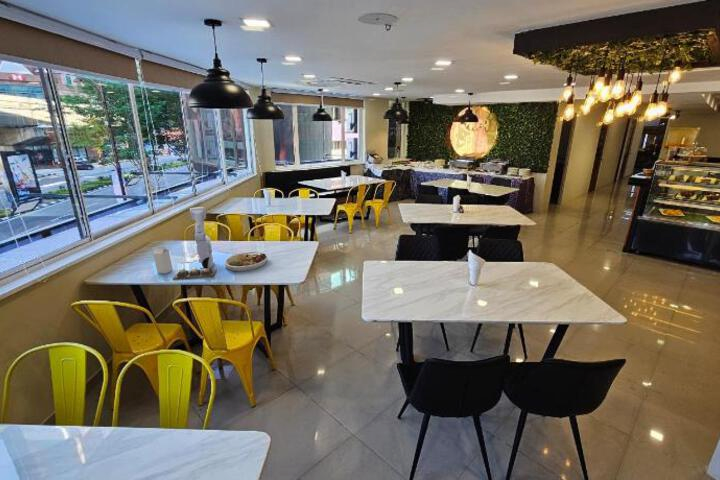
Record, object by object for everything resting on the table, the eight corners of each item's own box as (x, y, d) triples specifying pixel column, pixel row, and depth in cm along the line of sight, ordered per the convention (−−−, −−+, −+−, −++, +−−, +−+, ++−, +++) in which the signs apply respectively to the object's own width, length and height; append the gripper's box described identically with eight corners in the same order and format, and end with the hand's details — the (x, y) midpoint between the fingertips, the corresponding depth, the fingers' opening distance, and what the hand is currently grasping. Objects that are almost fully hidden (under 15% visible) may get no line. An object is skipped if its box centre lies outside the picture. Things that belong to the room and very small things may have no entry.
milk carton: (166, 273, 250) (160, 248, 244) (157, 273, 252) (151, 248, 246) (173, 269, 257) (167, 245, 251) (164, 269, 258) (159, 244, 252)
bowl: (223, 275, 244) (221, 265, 242) (227, 260, 272) (225, 251, 269) (268, 269, 252) (266, 259, 249) (267, 255, 279) (266, 246, 277)
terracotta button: (205, 272, 247) (204, 268, 246) (210, 271, 247) (209, 268, 246) (203, 274, 243) (202, 270, 242) (208, 273, 244) (208, 270, 243)
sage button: (180, 271, 245) (180, 268, 244) (186, 271, 245) (185, 268, 244) (178, 273, 241) (178, 270, 241) (184, 273, 242) (183, 270, 241)
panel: (179, 273, 250) (178, 269, 249) (217, 270, 252) (216, 266, 251) (173, 279, 240) (172, 275, 239) (212, 277, 242) (211, 272, 241)
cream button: (192, 271, 246) (192, 267, 245) (198, 270, 246) (197, 267, 245) (191, 273, 242) (190, 269, 241) (196, 272, 242) (195, 269, 242)
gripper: (200, 246, 246) (203, 264, 251) (192, 253, 233) (196, 272, 237) (210, 246, 247) (213, 264, 251) (203, 253, 233) (207, 272, 237)
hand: (206, 268), depth 244 cm, fingers closed
